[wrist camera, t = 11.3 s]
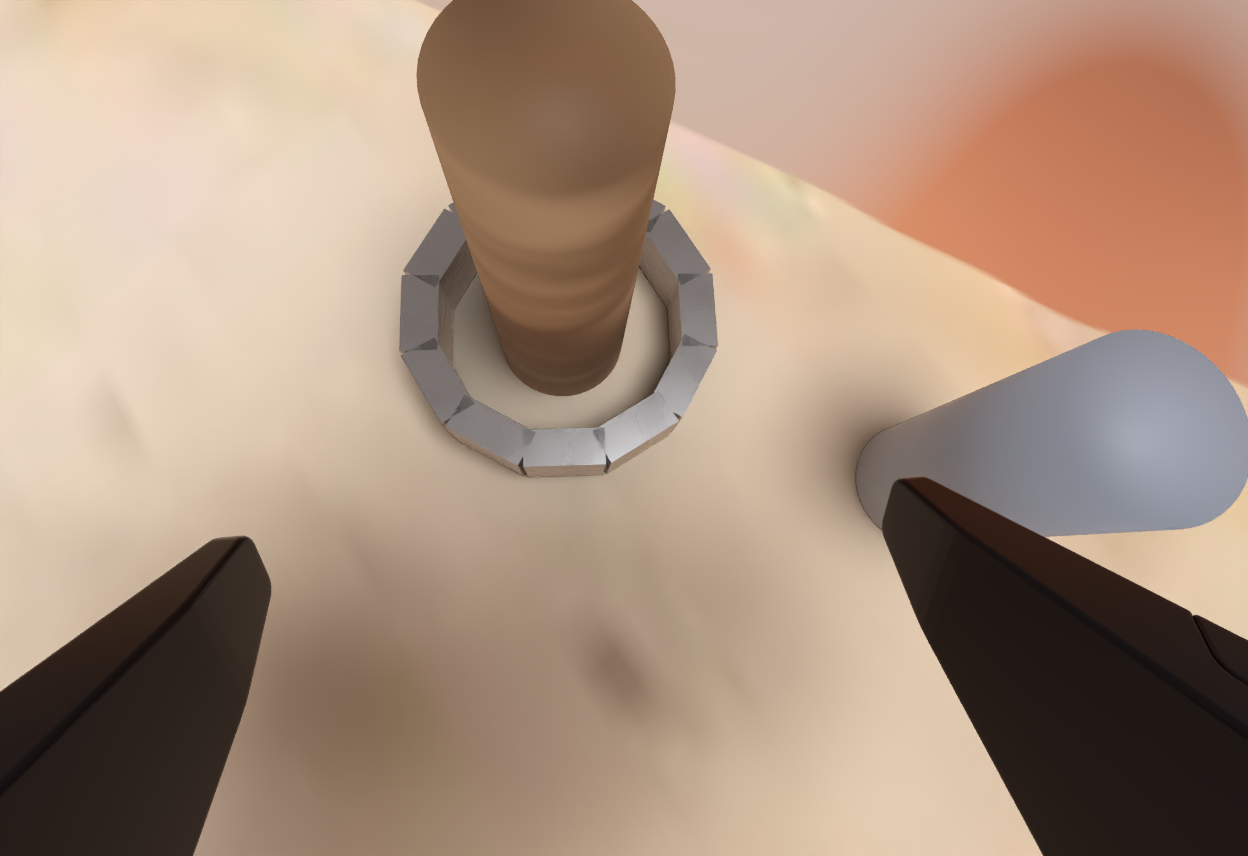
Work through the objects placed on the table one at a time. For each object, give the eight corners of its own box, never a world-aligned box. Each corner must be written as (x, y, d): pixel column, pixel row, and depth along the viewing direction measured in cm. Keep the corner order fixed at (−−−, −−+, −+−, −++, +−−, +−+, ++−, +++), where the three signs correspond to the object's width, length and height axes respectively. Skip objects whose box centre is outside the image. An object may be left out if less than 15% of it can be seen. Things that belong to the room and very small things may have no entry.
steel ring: (621, 528, 22) (627, 524, 20) (362, 390, 23) (337, 369, 20) (745, 287, 25) (764, 256, 22) (509, 165, 25) (502, 121, 22)
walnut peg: (554, 419, 23) (528, 241, 10) (478, 330, 23) (363, 53, 11) (645, 346, 24) (727, 98, 11) (570, 261, 24) (566, -70, 12)
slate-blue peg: (946, 565, 23) (1222, 567, 13) (837, 507, 23) (1030, 467, 13) (987, 459, 24) (1272, 387, 14) (882, 404, 24) (1093, 295, 14)
